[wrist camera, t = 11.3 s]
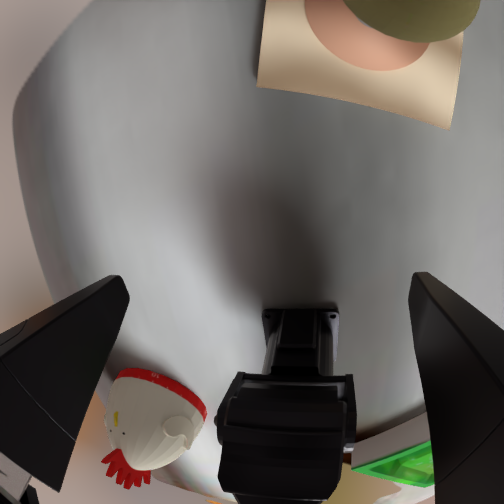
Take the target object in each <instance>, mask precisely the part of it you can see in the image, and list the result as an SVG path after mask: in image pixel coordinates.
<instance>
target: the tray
mask: <svg viewBox="0 0 504 504" xmlns="http://www.w3.org/2000/svg"><path fill="white" fill-rule="evenodd" d="M351 467H352V468H351V470H352V471H356V472H359V473H363V474H366V475H370V476H374V477H378V478H381V479H386V480H390V481H394V482H399V483H403V484H408V485H413V486H418V487H424V488H425V487H428V486H431V485H433V484H434V470H433V459H432V449H431V440H430V432H429V425H428V418H427V412H425V413H423V414H421V415H419V416H417V417H415V418H413V419H411V420H409V421H407V422H405V423H403V424H400V425H398V426H396V427H394V428H392V429H389V430H387V431H385V432H382V433H380V434H378V435H375V436H373V437H370V438H368V439H365V440H363V441H360V442H358V443H355V444H354V448H353V451H352V466H351Z"/></svg>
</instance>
